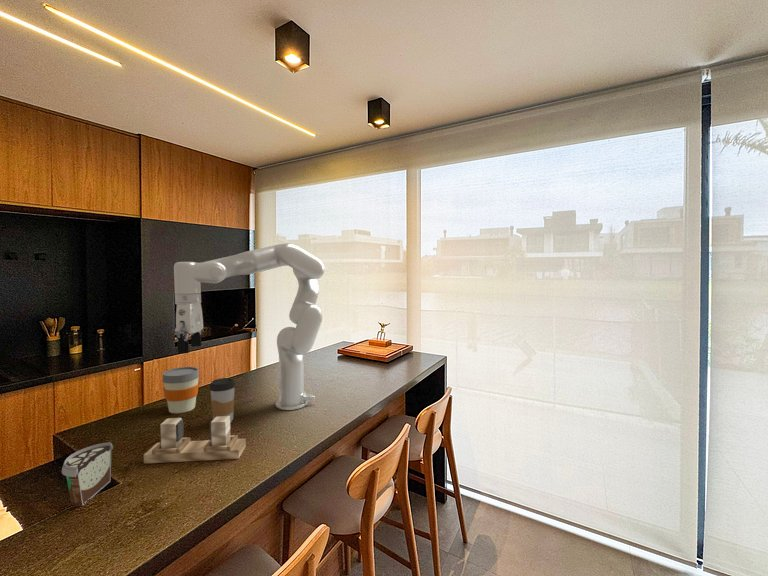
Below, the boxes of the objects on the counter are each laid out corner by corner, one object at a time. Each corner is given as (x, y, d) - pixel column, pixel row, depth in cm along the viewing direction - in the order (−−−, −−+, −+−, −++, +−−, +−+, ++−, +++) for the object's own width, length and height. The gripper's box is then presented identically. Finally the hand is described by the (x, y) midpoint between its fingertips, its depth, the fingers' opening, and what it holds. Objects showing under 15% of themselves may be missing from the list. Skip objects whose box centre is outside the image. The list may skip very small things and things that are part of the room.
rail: (245, 446, 108) (245, 413, 108) (238, 458, 101) (237, 423, 101) (157, 450, 106) (156, 416, 105) (143, 463, 99) (142, 427, 98)
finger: (184, 443, 105) (183, 417, 104) (178, 450, 101) (177, 423, 101) (168, 444, 104) (167, 418, 104) (161, 451, 100) (160, 424, 100)
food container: (89, 479, 91) (87, 442, 91) (114, 478, 92) (112, 441, 91) (48, 512, 79) (46, 469, 79) (77, 510, 80) (75, 468, 79)
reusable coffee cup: (183, 416, 130) (182, 377, 129) (155, 413, 132) (153, 375, 131) (207, 403, 142) (206, 367, 141) (180, 401, 144) (179, 365, 144)
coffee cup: (241, 418, 128) (240, 378, 127) (223, 428, 120) (222, 386, 119) (223, 415, 131) (222, 376, 130) (205, 425, 123) (203, 383, 122)
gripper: (188, 301, 107) (190, 355, 109) (210, 296, 125) (211, 343, 126) (162, 301, 107) (165, 356, 108) (188, 296, 124) (189, 344, 125)
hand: (190, 349), depth 117 cm, fingers open, 9 cm apart
